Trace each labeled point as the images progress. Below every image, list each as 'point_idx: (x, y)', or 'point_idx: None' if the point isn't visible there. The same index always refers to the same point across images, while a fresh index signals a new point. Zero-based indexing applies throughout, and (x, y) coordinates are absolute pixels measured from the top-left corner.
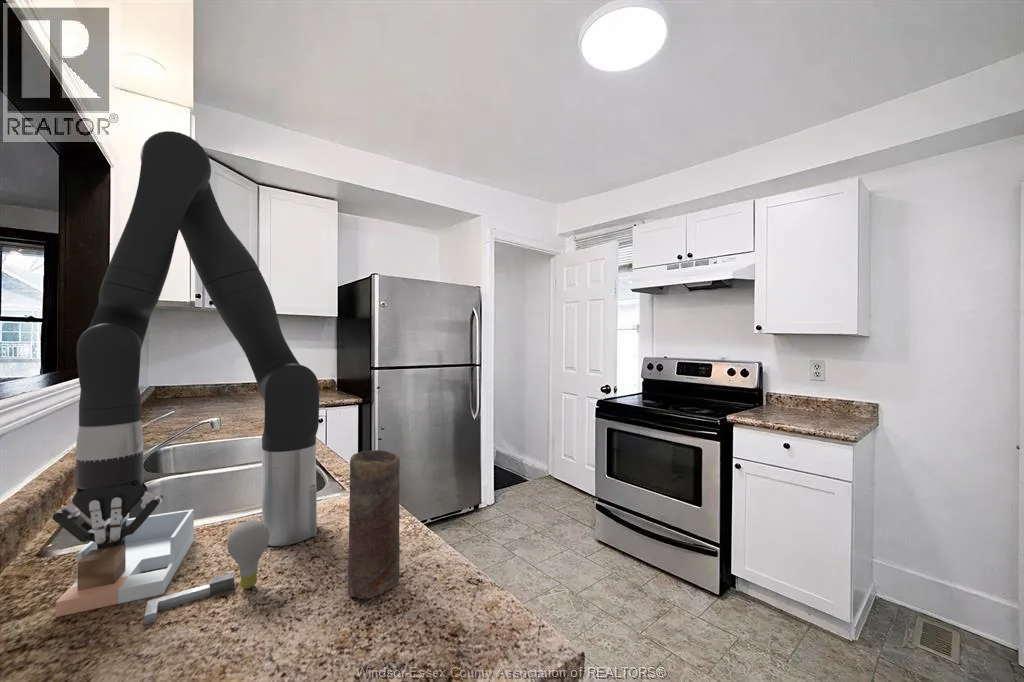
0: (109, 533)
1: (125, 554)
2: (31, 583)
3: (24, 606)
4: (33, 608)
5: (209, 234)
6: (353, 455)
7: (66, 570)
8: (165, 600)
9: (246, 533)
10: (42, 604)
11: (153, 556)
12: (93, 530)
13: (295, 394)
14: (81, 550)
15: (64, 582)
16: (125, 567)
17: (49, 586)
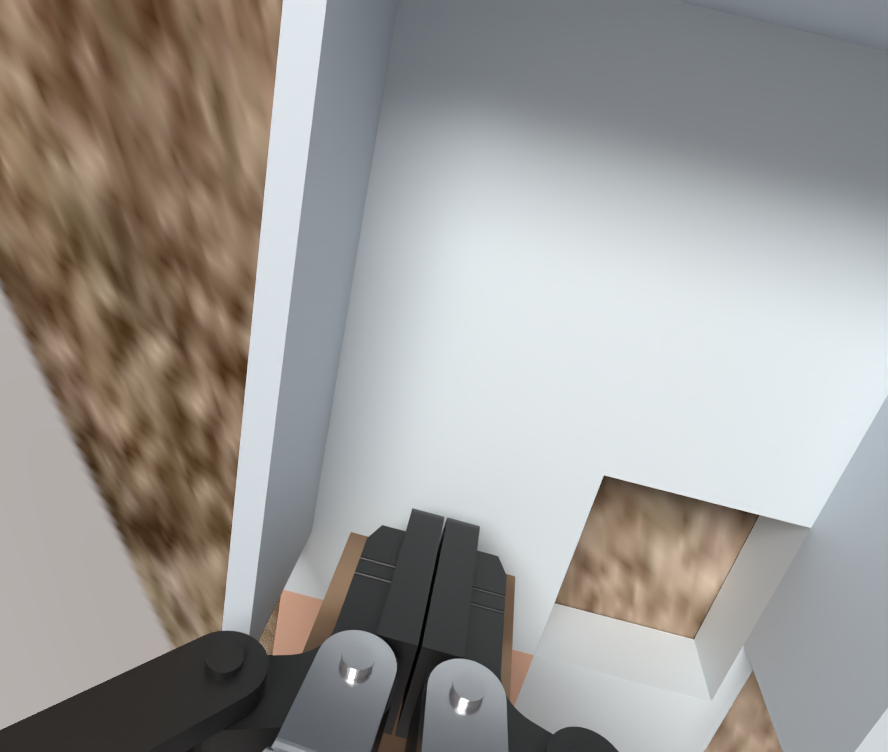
0: (378, 730)
1: (511, 660)
2: (16, 124)
3: (125, 446)
4: (173, 496)
5: None
6: None
7: (148, 20)
8: None
9: None
10: (196, 481)
11: (673, 477)
12: (236, 748)
13: None
14: (229, 624)
15: (207, 261)
16: (514, 588)
17: (144, 263)
